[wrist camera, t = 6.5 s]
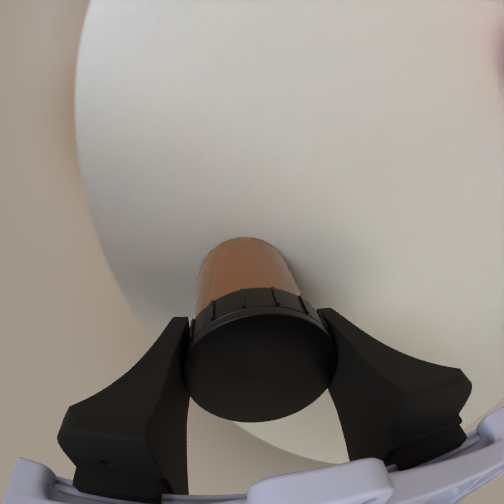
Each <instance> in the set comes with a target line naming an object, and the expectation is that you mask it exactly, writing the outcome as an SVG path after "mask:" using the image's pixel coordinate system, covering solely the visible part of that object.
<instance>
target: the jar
mask: <svg viewBox="0 0 504 504" xmlns="http://www.w3.org/2000/svg"><path fill="white" fill-rule="evenodd" d="M271 287H275V289H280V290H284V291H287V292H290V293H293V294H295V295H297V296H299V295H301V296H302V294H301V292H300V290H299V288H298V286H297V284H296V282H295V280H294V277H293V275H292V273H291V271H290V269H289V267H288V265H287V263H286V261H285V259H284V258H283V256H282V255H281V253H280V252H279V251H278V250H277V249H276V248H275V247H273V246H272V245H270V244H269V243H267V242H265V241H262V240H259V239H254V238H237V239H232V240H229V241H226V242H224V243H222V244H220V245H219V246H217V247H216V248H215V249H213V250H212V251H211V252H210V253H209V254H208V256H207V257H206V258H205V260H204V262H203V264H202V266H201V269H200V274H199V282H198V291H197V300H196V310H195V318H196V316H197V315H198V314H199V313H200V312H201V311H202V310H203V309H204V308H205V307H207V306H208V305H209V304H210V303H211V301H212V300H214V301H215V300H216V299H218V298H220V297H222V296H224V295H226V294H229V293H232V292H235V291H239V290H240V289H241V288H243V289H249V288H271ZM302 297H303V296H302ZM303 299H304V298H303Z"/></svg>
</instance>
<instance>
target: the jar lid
mask: <svg viewBox="0 0 504 504" xmlns="http://www.w3.org/2000/svg"><path fill="white" fill-rule="evenodd" d="M327 330H329V329H328V327H327V325H326V323H325V321H324V319H323V317H322V315H321V313H320V312H319V311H318V312H317V311H316V310H315V309H314V308H313V307H312V306H311V305H310V304H309V303H308V302H307V301H305V300H304V299H303V297H302V296H301V295H299V296H297V295H295V294H293V293H290V292H287V291H284V290H280V289H275V287H271V288H249V289H243V288H241V289H240V290H239V291H235V292H232V293H229V294H226V295H224V296H222V297H220V298H218V299H216V300H215V301H214V300H212V301H211V303H210V304H209V305H208V306H207V307H205V308H204V309H203V310H202V311H201V312H200V313H199V314H198V315H197V316H196V318H195V319H192V320H191V326H190V328H189V330H188V333H187V337H186V344H185V351H184V355H183V359H182V362H183V381H184V384H185V387H186V389H187V391H188V393H189V395H190V396H191V397H192V399H193V400H194V401H195V402H196V403H197V404H198V405H199V406H200V407H202V408H203V409H204V410H206V411H208V412H210V413H211V414H213V415H216V416H218V417H221V418H224V419H227V420H232V421H238V422H265V421H271V420H276V419H280V418H283V417H286V416H289V415H292V414H294V413H296V412H298V411H300V410H302V409H304V408H305V407H307V406H308V405H310V404H311V403H313V402H314V401H315V400H316V399H317V398H318V397H320V396H321V395H322V394H323V392H324V391H325V390H326V389H327V387H328V386H329V384H330V383H331V381H332V379H333V377H334V374H335V371H336V366H337V352H336V348H335V345H334V343H333V341H332V339H331V337H330V335H329V333H328V331H327Z"/></svg>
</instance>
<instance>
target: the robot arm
mask: <svg viewBox="0 0 504 504" xmlns="http://www.w3.org/2000/svg"><path fill="white" fill-rule="evenodd" d="M318 311H319V312H320V313H321V315H322V317H323V319H324V321H325V323H326V325H327V327H328V329H329V330H327V331H328V333H329V335H330V337H331V339H332V341H333V343H334V345H335V348H336V352H337V366H336V371H335V374H334V377H333V379H332V381H331V383H330V384H329V386H328V387H327V388H328V390H329V393H330V395H331V397H332V399H333V402H334V404H335V407H336V410H337V413H338V416H339V420H340V423H341V426H342V430H343V434H344V438H345V442H346V446H347V451H348V455H349V460H350V462H346V463H342V464H337V465H333V466H328V467H323V468H318V469H313V470H307V471H301V472H294V473H287V474H281V475H277V476H272V477H268V478H265V479H263V480H261V481H258V482H256V483H254V484H253V485H252V486H251V487H250V489H249V490H248V491H247V494H235V495H189V493H188V492H189V491H188V476H187V440H186V439H187V415H188V407H189V399H190V395H189V393H188V391H187V389H186V387H185V384H184V381H183V362H182V359H183V355H184V351H185V344H186V337H187V333H188V330H189V321H188V317H173V318H172V319H171V321H170V322H169V324H168V325H167V327H166V328H165V329H164V331H163V332H162V334H161V335H160V336H159V338H158V339H157V340H156V342H155V343H154V344H153V345H152V347H151V348H150V349H149V350H148V351H147V352H146V354H145V355H144V356H143V357H142V358H141V359H140V360H139V361H138V362H137V363H136V364H135V365H134V366H133V367H132V368H131V369H130V370H129V371H128V372H127V373H126V374H124V375H123V376H122V377H120V378H119V379H118V380H116V381H115V382H114V383H112V384H111V385H110V386H108V387H106V388H105V389H103V390H102V391H100V392H98V393H97V394H95V395H93V396H91V397H89V398H87V399H85V400H83V401H81V402H79V403H77V404H74V405H72V406H70V407H69V409H68V411H67V413H66V414H65V417H64V419H63V422H62V425H61V428H60V430H59V433H58V436H57V440H58V443H59V445H60V447H61V448H62V450H63V451H64V452H65V454H66V455H67V456H68V457H69V458H70V460H71V461H72V462H73V463H74V465H76V471H75V475H74V479H73V480H69V479H65V478H61V477H57V476H56V475H55V474H54V473H53V471H51V469H50V468H48V467H47V466H45V465H43V464H41V463H38V462H35V461H31V460H28V459H25V458H22V457H18V460H17V462H16V465H15V468H14V471H13V473H12V476H11V479H10V482H9V485H8V488H7V491H6V494H5V497H4V500H3V504H457V503H459V502H460V501H462V500H464V499H465V498H467V497H468V496H470V495H472V494H473V493H474V492H476V491H478V490H479V489H481V488H482V487H484V486H485V485H487V484H488V483H490V482H491V481H493V480H494V479H496V478H497V477H499V476H500V475H501V474H502V473H503V472H504V407H501V408H499V409H497V410H496V411H494V412H492V413H490V414H489V415H487V416H486V417H485V418H483V420H482V421H481V422H480V423H479V425H478V426H477V429H476V430H473V431H471V432H469V433H468V434H465V433H464V431H463V429H462V428H461V426H460V425H459V424H461V422H462V419H461V418H460V416H459V415H458V414H459V413H460V411H461V410H462V408H463V406H464V405H465V403H466V401H467V400H468V398H469V396H470V394H471V389H472V384H471V382H470V381H469V379H468V378H467V377H466V376H465V374H464V373H463V372H462V371H461V369H458V368H452V367H446V366H441V365H437V364H433V363H429V362H426V361H422V360H419V359H416V358H414V357H411V356H408V355H406V354H403V353H401V352H399V351H397V350H395V349H393V348H391V347H389V346H387V345H385V344H383V343H381V342H379V341H378V340H376V339H375V338H373V337H371V336H370V335H368V334H367V333H365V332H364V331H362V330H361V329H359V328H358V327H356V326H355V325H354V324H352V323H351V322H350V321H348V320H347V319H346V318H344V317H343V316H342V315H340V314H339V313H337V312H336V311H335V310H333V309H332V308H322V309H317V312H318Z"/></svg>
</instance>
